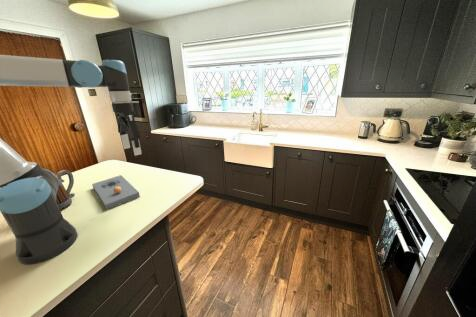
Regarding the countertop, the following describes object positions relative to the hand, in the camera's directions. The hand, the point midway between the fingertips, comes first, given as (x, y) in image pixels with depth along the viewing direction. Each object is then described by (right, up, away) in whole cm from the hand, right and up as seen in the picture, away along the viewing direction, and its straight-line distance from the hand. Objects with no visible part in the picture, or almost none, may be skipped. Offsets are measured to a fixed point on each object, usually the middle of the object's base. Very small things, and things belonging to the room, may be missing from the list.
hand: (132, 151), depth 88 cm
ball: (-10, -18, +5) cm, 21 cm away
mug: (-34, -25, +3) cm, 42 cm away
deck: (-15, -20, +12) cm, 28 cm away
